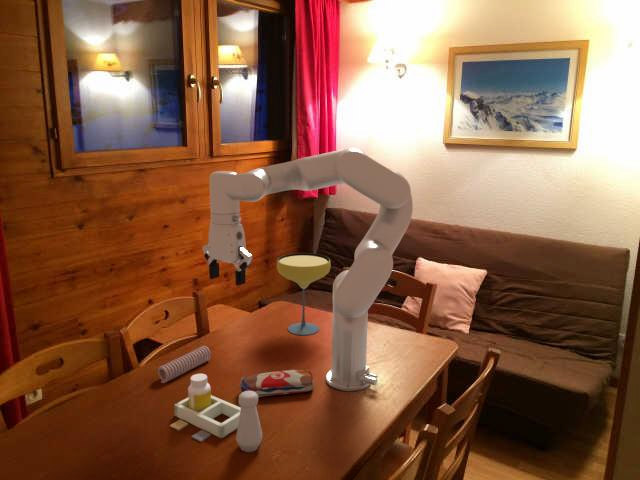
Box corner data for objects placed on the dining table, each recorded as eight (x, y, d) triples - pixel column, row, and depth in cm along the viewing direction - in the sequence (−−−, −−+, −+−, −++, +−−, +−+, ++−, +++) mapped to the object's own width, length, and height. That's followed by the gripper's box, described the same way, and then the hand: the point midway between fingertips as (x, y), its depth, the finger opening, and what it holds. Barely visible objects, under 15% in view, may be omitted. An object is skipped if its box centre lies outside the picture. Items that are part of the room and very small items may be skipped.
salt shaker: (237, 439, 120) (235, 387, 117) (262, 438, 121) (261, 386, 118) (235, 455, 115) (233, 401, 112) (262, 454, 115) (261, 400, 112)
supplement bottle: (216, 411, 131) (214, 375, 129) (200, 422, 127) (198, 384, 125) (200, 405, 134) (198, 370, 132) (184, 415, 130) (182, 378, 128)
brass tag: (188, 425, 126) (188, 423, 126) (178, 430, 123) (178, 429, 123) (180, 420, 127) (179, 419, 127) (170, 426, 125) (170, 425, 125)
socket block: (247, 421, 127) (246, 410, 127) (221, 438, 121) (221, 426, 120) (200, 401, 136) (200, 390, 136) (174, 415, 129) (174, 404, 129)
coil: (166, 371, 143) (213, 347, 158) (155, 365, 146) (202, 342, 160) (166, 386, 145) (212, 361, 159) (154, 380, 147) (201, 356, 162)
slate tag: (210, 435, 122) (210, 434, 121) (201, 442, 119) (200, 440, 119) (201, 431, 123) (201, 429, 123) (191, 437, 121) (191, 436, 121)
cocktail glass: (337, 324, 188) (338, 256, 182) (316, 343, 172) (317, 269, 166) (292, 316, 195) (292, 250, 189) (267, 334, 179) (266, 262, 173)
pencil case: (312, 403, 136) (312, 386, 135) (236, 401, 137) (236, 384, 136) (314, 382, 147) (314, 366, 146) (244, 380, 148) (243, 364, 146)
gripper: (259, 220, 137) (260, 283, 141) (212, 213, 146) (214, 272, 150) (239, 225, 131) (241, 290, 135) (191, 217, 140) (194, 278, 144)
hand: (227, 281), depth 143 cm, fingers open, 9 cm apart
